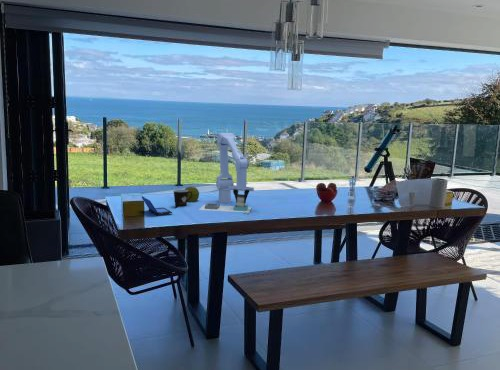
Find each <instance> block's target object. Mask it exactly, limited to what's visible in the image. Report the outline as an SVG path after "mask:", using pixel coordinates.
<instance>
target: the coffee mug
mask: <svg viewBox="0 0 500 370" xmlns="http://www.w3.org/2000/svg"><path fill="white" fill-rule="evenodd" d="M184 189H185V188H184ZM184 189H182V188H181V189H173V198H174V205H175V206H174V207H175V208H176V209H178V208H179V207H180V208H181V207H183V208H184V207H187V206H188V205H187V203H188V202H187V201H188V200H189V199H190V198H191V197H192V192H188V190H184ZM188 193H191V197H190V198H189V199H188V200H187V197H188Z"/></svg>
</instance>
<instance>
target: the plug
mask: <svg viewBox="0 0 500 370" xmlns="http://www.w3.org/2000/svg"><path fill="white" fill-rule="evenodd" d="M236 205H237V207H245V205H246V203H244V194H239V193H238V195H237V203H236Z"/></svg>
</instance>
